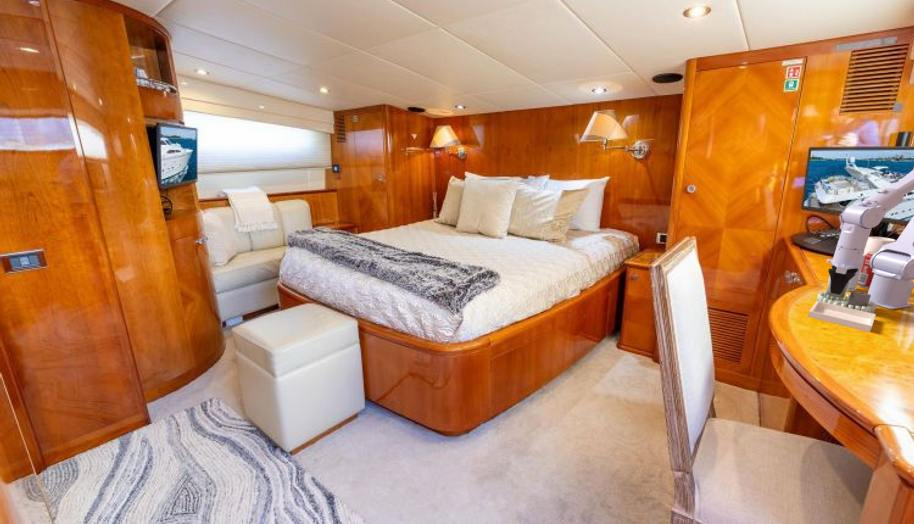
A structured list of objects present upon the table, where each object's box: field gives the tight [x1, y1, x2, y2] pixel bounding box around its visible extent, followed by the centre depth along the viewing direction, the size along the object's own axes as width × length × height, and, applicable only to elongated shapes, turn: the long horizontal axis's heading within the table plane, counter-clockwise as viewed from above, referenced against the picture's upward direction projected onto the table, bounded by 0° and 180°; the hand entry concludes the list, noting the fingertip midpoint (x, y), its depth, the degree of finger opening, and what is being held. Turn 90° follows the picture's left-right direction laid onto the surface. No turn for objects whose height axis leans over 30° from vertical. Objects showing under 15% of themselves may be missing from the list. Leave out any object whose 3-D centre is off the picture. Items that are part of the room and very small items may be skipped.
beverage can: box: [857, 252, 876, 290], centre depth 129 cm, size 6×6×12 cm
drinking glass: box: [863, 236, 897, 255], centre depth 138 cm, size 7×7×15 cm
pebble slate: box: [825, 279, 849, 299], centre depth 114 cm, size 4×4×4 cm
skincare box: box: [827, 255, 865, 292], centre depth 129 cm, size 6×4×12 cm
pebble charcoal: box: [847, 290, 871, 311], centre depth 112 cm, size 4×4×4 cm
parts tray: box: [807, 300, 877, 333], centre depth 105 cm, size 12×12×2 cm
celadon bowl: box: [816, 291, 878, 314], centre depth 114 cm, size 12×12×3 cm
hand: (836, 291), depth 115 cm, fingers closed on pebble slate, 4 cm apart
